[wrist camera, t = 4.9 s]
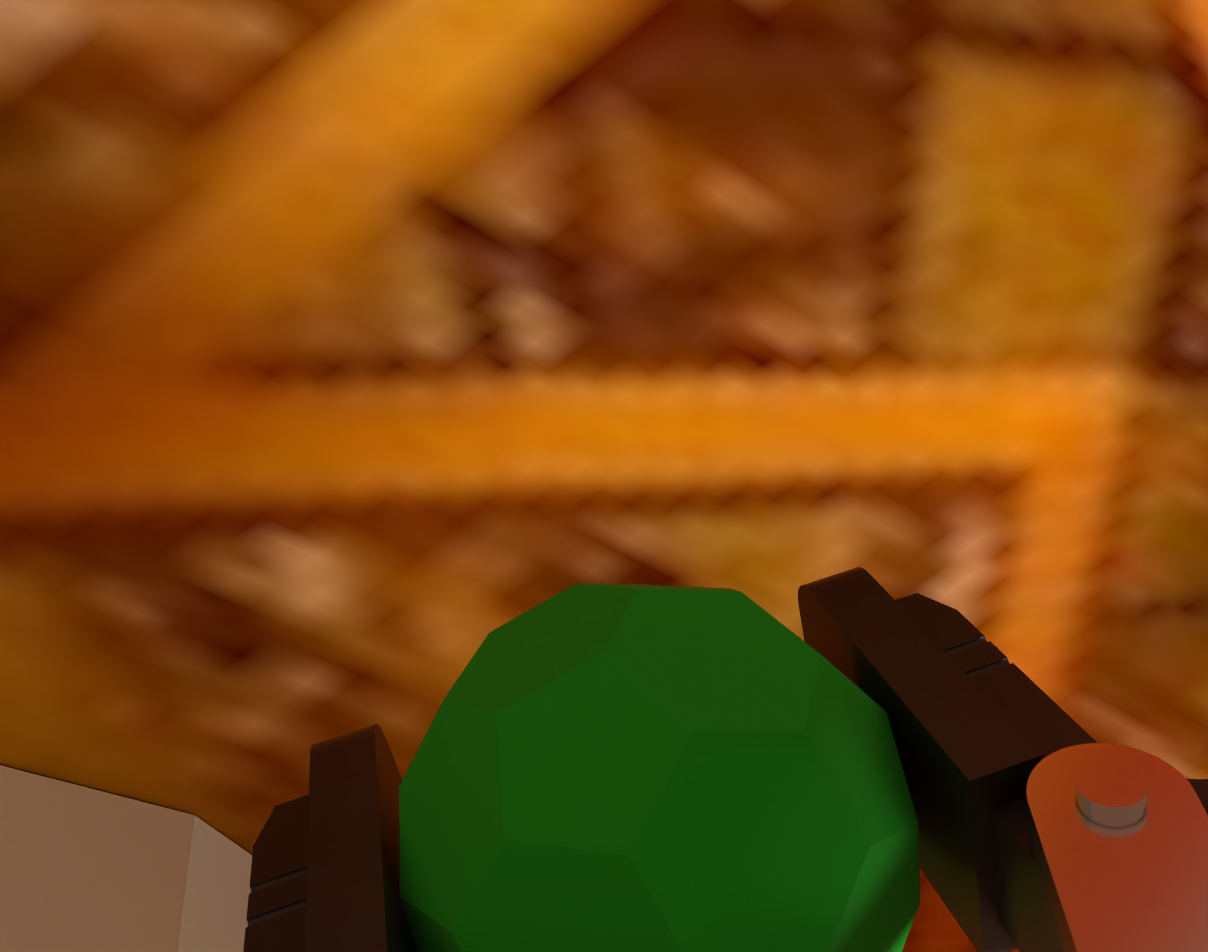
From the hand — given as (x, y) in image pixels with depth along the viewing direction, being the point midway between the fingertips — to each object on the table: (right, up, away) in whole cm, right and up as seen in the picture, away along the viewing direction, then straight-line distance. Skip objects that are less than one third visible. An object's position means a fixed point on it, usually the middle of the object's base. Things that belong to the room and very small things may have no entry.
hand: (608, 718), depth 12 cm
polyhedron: (0, 0, +1) cm, 1 cm away
